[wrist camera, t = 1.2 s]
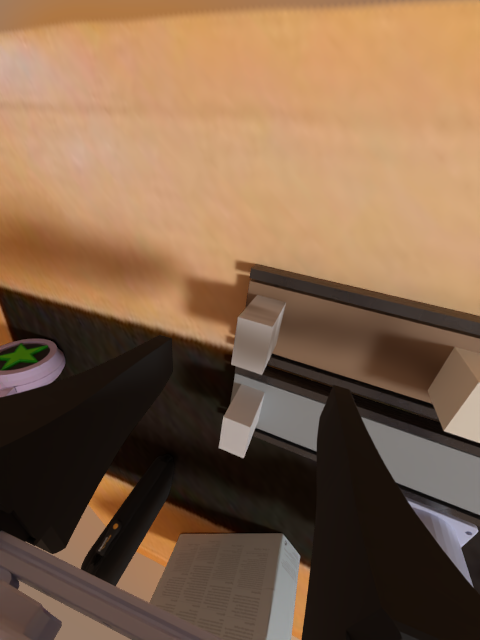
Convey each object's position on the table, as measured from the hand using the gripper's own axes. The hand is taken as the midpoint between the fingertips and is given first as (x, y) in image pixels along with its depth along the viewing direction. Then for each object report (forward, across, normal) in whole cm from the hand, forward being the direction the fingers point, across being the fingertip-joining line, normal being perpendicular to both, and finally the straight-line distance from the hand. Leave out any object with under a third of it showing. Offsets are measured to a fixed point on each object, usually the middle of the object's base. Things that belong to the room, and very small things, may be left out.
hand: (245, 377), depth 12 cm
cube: (+10, -14, +3) cm, 18 cm away
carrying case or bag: (+10, +10, +32) cm, 35 cm away
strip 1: (+11, -9, +4) cm, 15 cm away
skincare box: (+8, -2, +44) cm, 44 cm away
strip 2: (+10, -10, +13) cm, 19 cm away
